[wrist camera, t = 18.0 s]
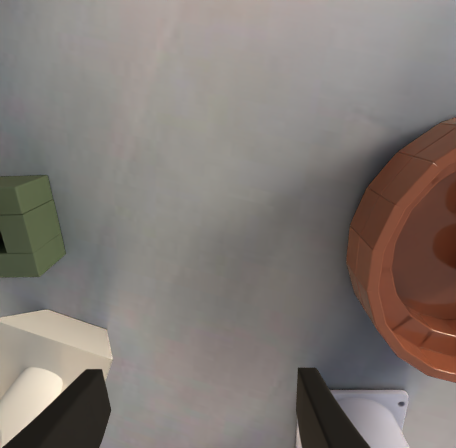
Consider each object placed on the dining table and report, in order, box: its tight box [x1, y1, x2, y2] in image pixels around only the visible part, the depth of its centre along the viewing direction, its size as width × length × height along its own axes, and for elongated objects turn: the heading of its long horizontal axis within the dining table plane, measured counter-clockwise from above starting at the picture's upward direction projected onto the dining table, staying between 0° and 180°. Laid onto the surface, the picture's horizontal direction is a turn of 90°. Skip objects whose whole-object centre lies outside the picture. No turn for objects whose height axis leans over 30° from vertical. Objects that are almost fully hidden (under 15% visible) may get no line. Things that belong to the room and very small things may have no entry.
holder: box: [0, 175, 66, 277], centre depth 19 cm, size 5×5×3 cm
